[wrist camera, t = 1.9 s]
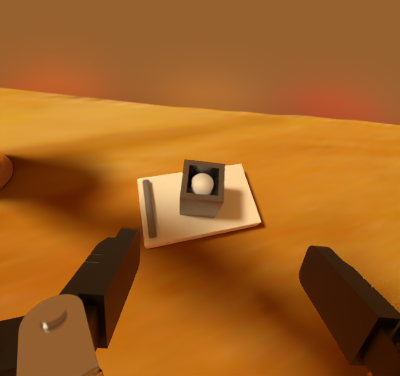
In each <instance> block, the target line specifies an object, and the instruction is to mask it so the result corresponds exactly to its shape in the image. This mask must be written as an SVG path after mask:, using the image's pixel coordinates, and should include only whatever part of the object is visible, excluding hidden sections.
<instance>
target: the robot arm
mask: <svg viewBox="0 0 400 376" xmlns="http://www.w3.org/2000/svg"><path fill="white" fill-rule="evenodd" d="M12 173H13V164H12V162H11V160H10V159H9V158H8V157H7V156H5V155H4V154H2V153H1V152H0V189H1V188H2V187H3V186H4V185H5V184H6V183H7V182H8V181H9V179H10V177H11V176H12ZM139 261H140V229H137V228H126V227H122V228H121V230H120V231H119V233H118V234H117V236H116V237H115V238H110V237H108V238H107V239H105V240H103V241H102V242H100V243H99V244H98V245H97V246H96V247H95V249H94V250H93V251H92V252H91V255H89V256H88V258H87V259H86V260H85V262H84V263H83V264H82V265H81V267H80V268H79V269H78V271H77V272H76V273H75V275H74V276H73V277H72V278H71V280H70V281H69V282H68V284H67V285H66V286H65V288H64V289H63V290H62V292H61V293H60V294H59V295H57V296H54V297H51V298H48V299H46V300H44V301H42V302H41V303H39V304H38V305H36V306H35V307H34V308H32V309H31V310H30V311H29V312H28V313H27V314H26V316H22V317H18V318H13V319H8V320H3V321H0V376H104V375H103V372H102V370H101V369H100V368H99V365H98V362H97V358H96V354H95V351H96V349H97V348H108V345H109V343H110V340H111V338H112V335H113V332H114V330H115V327H116V325H117V322H118V319H119V317H120V314H121V312H122V309H123V306H124V304H125V301H126V299H127V296H128V293H129V291H130V288H131V286H132V283H133V280H134V278H135V275H136V273H137V270H138V266H139ZM299 279H300V283H301V285H302V287H303V288H304V290H305V292H306V293H307V295H308V297H309V298H310V300H311V301H312V303H313V305H314V306H315V308H316V310H317V311H318V313H319V314H320V316H321V318H322V319H323V321H324V323H325V324H326V326H327V327H328V329H329V331H330V332H331V334H332V336H333V337H334V339H335V340H336V342H337V344H338V345H339V347H340V349H341V350H342V352H343V354H344V355H345V357H346V358H347V360H348V362H349V363H350V365H363V366H367V368H368V369H369V373H368V374H367V376H400V313H399V312H398V311H397V310H396V309H395V308H394V307H393V306H392V305H391V304H390V303H389V302H388V301H387V300H386V299H385V298H384V297H383V296H382V295H380V294H379V293H378V292H377V291H376V290H375V289H374V288H373V287H371V285H370V284H369V283H368V282H367V281H366V280H365V279H363V277H362V276H361V275H360V274H359V273H358V272H357V271H356V270H355V269H354V268H353V267H351V266H350V265H348V264H347V263H345V262H344V261H343V260H342V259H341V258H340V257H339V256H338V255H337V254H336V253H335V252H334V251H333V250H332V249H330V248H329V247H323V246H310V247H309V248H308V249H307V252H306V255H305V257H304V260H303V263H302V266H301V268H300V271H299Z"/></svg>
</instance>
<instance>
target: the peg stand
mask: <svg viewBox="0 0 400 376" xmlns="http://www.w3.org/2000/svg"><path fill="white" fill-rule="evenodd" d="M182 175H183V172H181V173H174V174H167V175H161V176H154V177H147V178H140V179H137V182H138V191H139V200H140V209H141V219H142V228H143V237H144V246H145V247H146V248H147V249H149V248H153V247H158V246H163V245H168V244H173V243H177V242H182V241H187V240H192V239H196V238H201V237H206V236H211V235H216V234H220V233H225V232H230V231H235V230H240V229H244V228H249V227H254V226H256V225H258V224H259V223H261V220H260V217H259V214H258V211H257V208H256V205H255V202H254V200H253V197H252V194H251V191H250V188H249V185H248V182H247V179H246V177H245V174H244V171H243V168H242V165H241V164H236V165H229V166H225V181H224V203H223V204H222V206H221V208H220V209H219V211H218V213H217V215H216V216H215V218H207V217H197V216H187V215H179V209H180V191H181V183H182ZM213 185H214V183H213V179H212V178H211V177H210V176H209V175H207V174H204V173H200V174H197V175H195V176H194V177H193V179H192V184H191V188H187V193H196V194H205V195H211V191H212V188H213Z"/></svg>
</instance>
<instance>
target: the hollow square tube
mask: <svg viewBox="0 0 400 376" xmlns="http://www.w3.org/2000/svg"><path fill="white" fill-rule="evenodd" d="M200 173H204V174H207V175H209V176H210V177H211V178H212V179H213V183H214V185H213V188H212V191H211V195H205V194H196V193H187V188H191V184H192V179H193V177H194V176H195V175H197V174H200ZM224 181H225V164H219V163H211V162H202V161H194V160H184V168H183V175H182V183H181V191H180V209H179V215H187V216H197V217H207V218H215V216H216V215H217V213H218V211H219V209H220V208H221V206H222V204H223V203H224Z"/></svg>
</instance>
